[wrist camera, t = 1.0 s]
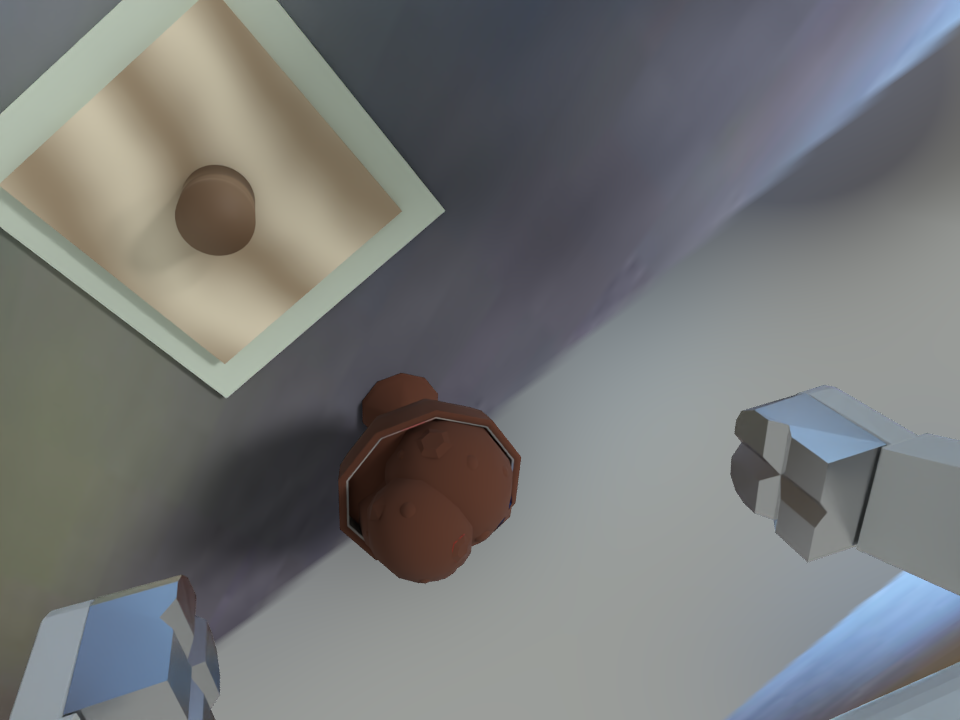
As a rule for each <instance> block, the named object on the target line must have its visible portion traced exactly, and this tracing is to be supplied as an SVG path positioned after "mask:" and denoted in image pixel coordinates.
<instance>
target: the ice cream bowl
mask: <svg viewBox="0 0 960 720" xmlns="http://www.w3.org/2000/svg"><path fill="white" fill-rule="evenodd" d="M362 407H363V423H364V424H365V425H366V426H367V427H368V428H367V429H366V431H365V432H364V433H363V434H362V436H361V437H360V438H359V440H358V441H357V442H356V443H355V445H354V446H353V447H352V448H351V450H350V451H349V452H348V453H347V455H346V457H345V458H344V460H343V462H342V463H341V465H340V471H339V479H338V484H339V515H340V530H342V531H343V532H344V533H345V534H346V535H347V536H349V537H350V538H351V539H352V540H353V541H354V542H356V543H357V544H358V545H359V546H360V547H361V548H362V549H364V550H365V551H366V552H367V553H368V554H369V555H371V556H372V557H373V558H374V559H375V560H379V561H380V562H381V563H382V564H384V566H386V567H387V568H388V569H389V570H390V571H391V572H392V573H394V574H395V575H396V576H397V577H398V578H402V579H405V580H409V581H413V582H417V583H427V582H431V581H439V580H441V579H445V578H447V577H448V576H450V575H451V574H453V573H454V572H455V571H456V569H457V568H458V567H460V566H461V565H463V564H464V562H465V561H466V559H467V558H468V556H469V554H470V553H471V546H474V545H476V544H478V543H481V542H482V541H484V540H486V539H487V538H488V537H489V536H490V535H491V534H492V533H493V532H494V531H495V530H496V529H497V528H498V527H499V526H500V525H501V524H503V523H504V522H505V521H506V520H507V519H508V518H509V517H510V513H511V507H512V506H513V505H514V504H515V501H516V493H517V486H518V478H519V470H520V462H521V457H520V455H519V454H518V453H517V451H516V450H515V449H514V447H513V446H512V445H511V444H510V442H509V441H508V440H507V438H506V437H505V436H504V435H503V433H502V432H501V431H500V430H499V428H498V427H497V426H496V424H495V423H494V422H493V421H492V420H491V419H490V418H489V417H488V416H487V415H486V414H485V413H483V412H482V411H480V410H477V409H474V408H471V407H466V406H461V405H456V404H451V403H446V402H441V401H438V393H437V392H436V391H435V390H434V389H433V387H432V386H431V385H430V384H429V383H428V381H427V380H426V379H425V378H423V377H418V376H413V375H409V374H404V373H400V374H397V375H395V376H392V377H389V378H386V379H384V380H381V381H378V382H377V383H376V384H375V385H374V387H373V388H372V389H371V391H370V392H369V393H368V394H367V396H366V397H365V398H364V400H363V401H362Z"/></svg>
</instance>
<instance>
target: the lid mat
mask: <svg viewBox="0 0 960 720" xmlns="http://www.w3.org/2000/svg"><path fill="white" fill-rule="evenodd" d="M197 1H198V0H122V1H121V2H120V3H119V4H118V5H117V6H116V7H115V8H114V9H113V10H111V11H110V12H109V13H108V14H107V15H106V16H105V17H104V18H103V19H102V20H101V21H100V22H99V23H98V24H96V25H95V26H94V27H93V28H92V29H91V30H90V31H89V32H88V33H87V34H86V35H85V36H84V37H83V38H81V39H80V40H79V41H78V42H77V43H76V44H75V45H74V46H73V47H72V48H71V49H70V50H69V51H68V52H66V53H65V54H64V55H63V56H62V57H61V58H60V59H59V60H58V61H57V62H56V63H55V64H54V65H53V66H51V67H50V68H49V69H48V70H47V71H46V72H45V73H44V74H43V75H42V76H41V77H40V78H39V79H38V80H36V81H35V82H34V83H33V84H32V85H31V86H30V87H29V88H28V89H27V90H26V91H25V92H24V93H23V94H21V95H20V96H19V97H18V98H17V99H16V100H15V101H14V102H13V103H12V104H11V105H10V106H9V107H8V108H6V109H5V110H4V111H3V112H2V113H1V114H0V183H1V182H2V181H3V180H4V179H5V178H6V177H8V176H9V175H10V174H11V173H12V172H13V171H14V170H15V169H16V168H17V167H18V166H19V165H21V164H22V163H23V162H24V161H25V160H26V159H27V158H28V157H29V156H30V155H31V154H32V153H34V152H35V151H36V150H37V149H38V148H39V147H40V146H41V145H42V144H43V143H44V142H45V141H47V140H48V139H49V138H50V137H51V136H52V135H53V134H54V133H55V132H56V131H57V130H58V129H60V128H61V127H62V126H63V125H64V124H65V123H66V122H67V121H68V120H69V119H70V118H72V117H73V116H74V115H75V114H76V113H77V112H78V111H79V110H80V109H81V108H82V107H83V106H85V105H86V104H87V103H88V102H89V101H90V100H91V99H92V98H93V97H94V96H95V95H96V94H98V93H99V92H100V91H101V90H102V89H103V88H104V87H105V86H106V85H107V84H108V83H109V82H111V81H112V80H113V79H114V78H115V77H116V76H117V75H118V74H119V73H120V72H121V71H122V70H124V69H125V68H126V67H127V66H128V65H129V64H130V63H131V62H132V61H133V60H134V59H136V58H137V57H138V56H139V55H140V54H141V53H142V52H143V51H144V50H145V49H146V48H147V47H149V46H150V45H151V44H152V43H153V42H154V41H155V40H156V39H157V38H158V37H159V36H160V35H162V34H163V33H164V32H165V31H166V30H167V29H168V28H169V27H170V26H171V25H172V24H173V23H175V22H176V21H177V20H178V19H179V18H180V17H181V16H182V15H183V14H184V13H185V12H186V11H188V10H189V9H190V8H191V7H192V6H193V5H194V4H195V3H196V2H197ZM224 2H225V3H226V4H227V5H228V6H229V7H230V9H231V10H232V11H233V12H234V13H235V15H236V16H237V17H238V18H239V19H240V20H241V22H242V23H243V24H244V25H245V26H246V28H247V29H248V30H249V31H250V32H251V33H252V35H253V36H254V37H255V38H256V39H257V40H258V42H259V43H260V44H261V45H262V46H263V48H264V49H265V50H266V51H267V52H268V53H269V55H270V56H271V57H272V58H273V59H274V61H275V62H276V63H277V64H278V65H279V66H280V68H281V69H282V70H283V71H284V72H285V73H286V75H287V76H288V77H289V78H290V79H291V81H292V82H293V83H294V84H295V85H296V86H297V88H298V89H299V90H300V91H301V92H302V93H303V95H304V96H305V97H306V98H307V99H308V101H309V102H310V103H311V104H312V105H313V106H314V108H315V109H316V110H317V111H318V112H319V114H320V115H321V116H322V117H323V118H324V119H325V121H326V122H327V123H328V124H329V125H330V126H331V128H332V129H333V130H334V131H335V132H336V134H337V135H338V136H339V137H340V138H341V139H342V141H343V142H344V143H345V144H346V145H347V147H348V148H349V149H350V150H351V151H352V152H353V154H354V155H355V156H356V157H357V158H358V159H359V161H360V162H361V163H362V164H363V165H364V167H365V168H366V169H367V170H368V171H369V172H370V174H371V175H372V176H373V177H374V178H375V180H376V181H377V182H378V183H379V184H380V185H381V187H382V188H383V189H384V190H385V191H386V192H387V194H388V195H389V196H390V197H391V198H392V200H393V201H394V202H395V203H396V204H397V205H398V207H399V208H400V209H401V210H402V212H401V213H400V214H398V215H397V216H396V217H395V218H394V219H393V220H391V221H390V222H389V223H388V224H387V225H386V226H384V227H383V228H382V229H381V230H380V231H379V232H378V233H376V234H375V235H374V236H373V237H372V238H371V239H369V240H368V241H367V242H366V243H365V244H364V245H362V246H361V247H360V248H359V249H358V250H357V251H356V252H354V253H353V254H352V255H351V256H350V257H349V258H347V259H346V260H345V261H344V262H343V263H342V264H340V265H339V266H338V267H337V268H336V269H335V270H333V271H332V272H331V273H330V274H329V275H328V276H327V277H325V278H324V279H323V280H322V281H321V282H320V283H318V284H317V285H316V286H315V287H314V288H313V289H311V290H310V291H309V292H308V293H307V294H306V295H305V296H303V297H302V298H301V299H300V300H299V301H298V302H296V303H295V304H294V305H293V306H292V307H291V308H289V309H288V310H287V311H286V312H285V313H284V314H282V315H281V316H280V317H279V318H278V319H277V320H276V321H274V322H273V323H272V324H271V325H270V326H269V327H267V328H266V329H265V330H264V331H263V332H262V333H260V334H259V335H258V336H257V337H256V338H255V339H253V340H252V341H251V342H250V343H249V344H248V345H247V346H245V347H244V348H243V349H242V350H241V351H240V352H238V353H237V354H236V355H235V356H234V357H233V358H231V359H230V360H229V361H228V362H227V363H226V364H224V363H223V362H221V361H220V360H219V359H217V358H216V357H215V356H214V355H212V354H211V353H210V352H209V351H207V350H206V349H205V348H204V347H202V346H201V345H200V344H199V343H197V342H196V341H195V340H194V339H192V338H191V337H190V336H188V335H187V334H186V333H185V332H183V331H182V330H181V329H180V328H178V327H177V326H176V325H175V324H173V323H172V322H171V321H170V320H168V319H167V318H166V317H164V316H163V315H162V314H161V313H159V312H158V311H157V310H156V309H154V308H153V307H152V306H151V305H149V304H148V303H147V302H146V301H144V300H143V299H142V298H141V297H139V296H138V295H137V294H135V293H134V292H133V291H132V290H130V289H129V288H128V287H127V286H125V285H124V284H123V283H122V282H120V281H119V280H118V279H117V278H115V277H114V276H113V275H112V274H110V273H109V272H108V271H106V270H105V269H104V268H103V267H101V266H100V265H99V264H98V263H96V262H95V261H94V260H93V259H91V258H90V257H89V256H88V255H86V254H85V253H84V252H82V251H81V250H80V249H79V248H77V247H76V246H75V245H74V244H72V243H71V242H70V241H69V240H67V239H66V238H65V237H64V236H62V235H61V234H60V233H59V232H57V231H56V230H55V229H53V228H52V227H51V226H50V225H48V224H47V223H46V222H45V221H43V220H42V219H41V218H40V217H38V216H37V215H36V214H35V213H33V212H32V211H31V210H30V209H28V208H27V207H26V206H24V205H23V204H22V203H21V202H19V201H18V200H17V199H16V198H14V197H13V196H12V195H11V194H9V193H8V192H7V191H6V190H4V189H3V188H2V187H0V227H1V228H2V229H4V230H5V231H6V232H8V233H9V234H10V235H12V236H13V237H14V238H15V239H17V240H18V241H19V242H21V243H22V244H23V245H25V246H26V247H27V248H29V249H30V250H31V251H33V252H34V253H35V254H37V255H38V256H39V257H41V258H42V259H43V260H45V261H46V262H47V263H48V264H50V265H51V266H52V267H54V268H55V269H56V270H58V271H59V272H60V273H62V274H63V275H64V276H66V277H67V278H68V279H70V280H71V281H72V282H74V283H75V284H76V285H78V286H79V287H80V288H81V289H83V290H84V291H85V292H87V293H88V294H89V295H91V296H92V297H93V298H95V299H96V300H97V301H99V302H100V303H101V304H103V305H104V306H105V307H107V308H108V309H109V310H111V311H112V312H113V313H114V314H116V315H117V316H118V317H120V318H121V319H122V320H124V321H125V322H126V323H128V324H129V325H130V326H132V327H133V328H134V329H136V330H137V331H138V332H140V333H141V334H142V335H143V336H145V337H146V338H147V339H149V340H150V341H151V342H153V343H154V344H155V345H157V346H158V347H159V348H161V349H162V350H163V351H165V352H166V353H167V354H169V355H170V356H171V357H173V358H174V359H175V360H176V361H178V362H179V363H180V364H182V365H183V366H184V367H186V368H187V369H188V370H190V371H191V372H192V373H194V374H195V375H196V376H198V377H199V378H200V379H202V380H203V381H204V382H206V383H207V384H208V385H209V386H211V387H212V388H213V389H215V390H216V391H217V392H219V393H220V394H221V395H223V396H224V397H225V398H228V397H229V396H230V395H231V394H232V393H233V392H235V391H236V390H237V389H238V388H239V387H240V386H242V385H243V384H244V383H245V382H246V381H247V380H249V379H250V378H251V377H252V376H253V375H254V374H256V373H257V372H258V371H259V370H260V369H261V368H263V367H264V366H265V365H266V364H267V363H268V362H270V361H271V360H272V359H273V358H274V357H275V356H277V355H278V354H279V353H280V352H281V351H282V350H284V349H285V348H286V347H287V346H288V345H289V344H291V343H292V342H293V341H294V340H295V339H296V338H298V337H299V336H300V335H301V334H302V333H303V332H305V331H306V330H307V329H308V328H309V327H310V326H312V325H313V324H314V323H315V322H316V321H317V320H319V319H320V318H321V317H322V316H323V315H324V314H326V313H327V312H328V311H329V310H330V309H331V308H333V307H334V306H335V305H336V304H337V303H338V302H340V301H341V300H342V299H343V298H344V297H345V296H347V295H348V294H349V293H350V292H351V291H352V290H354V289H355V288H356V287H357V286H358V285H359V284H361V283H362V282H363V281H364V280H365V279H366V278H368V277H369V276H370V275H371V274H372V273H373V272H375V271H376V270H377V269H378V268H379V267H380V266H382V265H383V264H384V263H385V262H386V261H387V260H389V259H390V258H391V257H392V256H393V255H394V254H396V253H397V252H398V251H399V250H400V249H401V248H403V247H404V246H405V245H406V244H407V243H408V242H410V241H411V240H412V239H413V238H414V237H415V236H417V235H418V234H419V233H420V232H421V231H422V230H424V229H425V228H426V227H427V226H428V225H429V224H431V223H432V222H433V221H434V220H435V219H436V218H438V217H439V216H440V215H441V214H442V213H443V212H445V210H444V209H443V207H442V206H441V205H440V204H439V202H438V201H437V200H436V199H435V197H434V196H433V195H432V194H431V192H430V191H429V190H428V189H427V187H426V186H425V185H424V184H423V182H422V181H421V180H420V179H419V177H418V176H417V175H416V174H415V172H414V171H413V170H412V169H411V167H410V166H409V165H408V164H407V162H406V161H405V160H404V159H403V157H402V156H401V155H400V154H399V152H398V151H397V150H396V149H395V147H394V146H393V145H392V144H391V142H390V141H389V140H388V139H387V137H386V136H385V135H384V134H383V132H382V131H381V130H380V129H379V127H378V126H377V125H376V124H375V122H374V121H373V120H372V119H371V117H370V116H369V115H368V114H367V112H366V111H365V110H364V109H363V107H362V106H361V105H360V104H359V102H358V101H357V100H356V99H355V97H354V96H353V95H352V94H351V92H350V91H349V90H348V89H347V87H346V86H345V85H344V84H343V82H342V81H341V80H340V79H339V77H338V76H337V75H336V74H335V72H334V71H333V70H332V69H331V67H330V66H329V65H328V64H327V62H326V61H325V60H324V59H323V57H322V56H321V55H320V54H319V52H318V51H317V50H316V49H315V47H314V46H313V45H312V44H311V42H310V41H309V40H308V39H307V37H306V36H305V35H304V34H303V32H302V31H301V30H300V29H299V27H298V26H297V25H296V24H295V22H294V21H293V20H292V19H291V17H290V16H289V15H288V14H287V12H286V11H285V10H284V9H283V7H282V6H281V5H280V4H279V2H278V1H277V0H224Z"/></svg>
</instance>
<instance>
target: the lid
mask: <svg viewBox="0 0 960 720" xmlns="http://www.w3.org/2000/svg"><path fill="white" fill-rule="evenodd" d="M0 187H2V188H3V189H4V190H6V191H7V192H8V193H9V194H11V195H12V196H13V197H14V198H16V199H17V200H18V201H19V202H21V203H22V204H23V205H24V206H26V207H27V208H28V209H30V210H31V211H32V212H33V213H35V214H36V215H37V216H38V217H40V218H41V219H42V220H43V221H45V222H46V223H47V224H48V225H50V226H51V227H52V228H53V229H55V230H56V231H57V232H59V233H60V234H61V235H62V236H64V237H65V238H66V239H67V240H69V241H70V242H71V243H72V244H74V245H75V246H76V247H77V248H79V249H80V250H81V251H82V252H84V253H85V254H86V255H88V256H89V257H90V258H91V259H93V260H94V261H95V262H96V263H98V264H99V265H100V266H101V267H103V268H104V269H105V270H106V271H108V272H109V273H110V274H112V275H113V276H114V277H115V278H117V279H118V280H119V281H120V282H122V283H123V284H124V285H125V286H127V287H128V288H129V289H130V290H132V291H133V292H134V293H135V294H137V295H138V296H139V297H141V298H142V299H143V300H144V301H146V302H147V303H148V304H149V305H151V306H152V307H153V308H154V309H156V310H157V311H158V312H159V313H161V314H162V315H163V316H164V317H166V318H167V319H168V320H170V321H171V322H172V323H173V324H175V325H176V326H177V327H178V328H180V329H181V330H182V331H183V332H185V333H186V334H187V335H188V336H190V337H191V338H192V339H194V340H195V341H196V342H197V343H199V344H200V345H201V346H202V347H204V348H205V349H206V350H207V351H209V352H210V353H211V354H212V355H214V356H215V357H216V358H217V359H219V360H220V361H221V362H223V363H224V364H226V363H227V362H228V361H229V360H230V359H231V358H233V357H234V356H235V355H236V354H237V353H238V352H240V351H241V350H242V349H243V348H244V347H245V346H247V345H248V344H249V343H250V342H251V341H252V340H253V339H255V338H256V337H257V336H258V335H259V334H260V333H262V332H263V331H264V330H265V329H266V328H267V327H269V326H270V325H271V324H272V323H273V322H274V321H276V320H277V319H278V318H279V317H280V316H281V315H282V314H284V313H285V312H286V311H287V310H288V309H289V308H291V307H292V306H293V305H294V304H295V303H296V302H298V301H299V300H300V299H301V298H302V297H303V296H305V295H306V294H307V293H308V292H309V291H310V290H311V289H313V288H314V287H315V286H316V285H317V284H318V283H320V282H321V281H322V280H323V279H324V278H325V277H327V276H328V275H329V274H330V273H331V272H332V271H333V270H335V269H336V268H337V267H338V266H339V265H340V264H342V263H343V262H344V261H345V260H346V259H347V258H349V257H350V256H351V255H352V254H353V253H354V252H356V251H357V250H358V249H359V248H360V247H361V246H362V245H364V244H365V243H366V242H367V241H368V240H369V239H371V238H372V237H373V236H374V235H375V234H376V233H378V232H379V231H380V230H381V229H382V228H383V227H384V226H386V225H387V224H388V223H389V222H390V221H391V220H393V219H394V218H395V217H396V216H397V215H398V214H400V213H401V212H402V210H401V209H400V208H399V207H398V205H397V204H396V203H395V202H394V201H393V200H392V198H391V197H390V196H389V195H388V194H387V192H386V191H385V190H384V189H383V188H382V187H381V185H380V184H379V183H378V182H377V181H376V180H375V178H374V177H373V176H372V175H371V174H370V172H369V171H368V170H367V169H366V168H365V167H364V165H363V164H362V163H361V162H360V161H359V159H358V158H357V157H356V156H355V155H354V154H353V152H352V151H351V150H350V149H349V148H348V147H347V145H346V144H345V143H344V142H343V141H342V139H341V138H340V137H339V136H338V135H337V134H336V132H335V131H334V130H333V129H332V128H331V126H330V125H329V124H328V123H327V122H326V121H325V119H324V118H323V117H322V116H321V115H320V114H319V112H318V111H317V110H316V109H315V108H314V106H313V105H312V104H311V103H310V102H309V101H308V99H307V98H306V97H305V96H304V95H303V93H302V92H301V91H300V90H299V89H298V88H297V86H296V85H295V84H294V83H293V82H292V81H291V79H290V78H289V77H288V76H287V75H286V73H285V72H284V71H283V70H282V69H281V68H280V66H279V65H278V64H277V63H276V62H275V61H274V59H273V58H272V57H271V56H270V55H269V53H268V52H267V51H266V50H265V49H264V48H263V46H262V45H261V44H260V43H259V42H258V40H257V39H256V38H255V37H254V36H253V35H252V33H251V32H250V31H249V30H248V29H247V28H246V26H245V25H244V24H243V23H242V22H241V20H240V19H239V18H238V17H237V16H236V15H235V13H234V12H233V11H232V10H231V9H230V7H229V6H228V5H227V4H226V3H225V2H224V0H198V1H197V2H196V3H195V4H194V5H193V6H192V7H191V8H190V9H189V10H188V11H186V12H185V13H184V14H183V15H182V16H181V17H180V18H179V19H178V20H177V21H176V22H175V23H173V24H172V25H171V26H170V27H169V28H168V29H167V30H166V31H165V32H164V33H163V34H162V35H160V36H159V37H158V38H157V39H156V40H155V41H154V42H153V43H152V44H151V45H150V46H149V47H147V48H146V49H145V50H144V51H143V52H142V53H141V54H140V55H139V56H138V57H137V58H136V59H134V60H133V61H132V62H131V63H130V64H129V65H128V66H127V67H126V68H125V69H124V70H122V71H121V72H120V73H119V74H118V75H117V76H116V77H115V78H114V79H113V80H112V81H111V82H109V83H108V84H107V85H106V86H105V87H104V88H103V89H102V90H101V91H100V92H99V93H98V94H96V95H95V96H94V97H93V98H92V99H91V100H90V101H89V102H88V103H87V104H86V105H85V106H83V107H82V108H81V109H80V110H79V111H78V112H77V113H76V114H75V115H74V116H73V117H72V118H70V119H69V120H68V121H67V122H66V123H65V124H64V125H63V126H62V127H61V128H60V129H58V130H57V131H56V132H55V133H54V134H53V135H52V136H51V137H50V138H49V139H48V140H47V141H45V142H44V143H43V144H42V145H41V146H40V147H39V148H38V149H37V150H36V151H35V152H34V153H32V154H31V155H30V156H29V157H28V158H27V159H26V160H25V161H24V162H23V163H22V164H21V165H19V166H18V167H17V168H16V169H15V170H14V171H13V172H12V173H11V174H10V175H9V176H8V177H6V178H5V179H4V180H3V181H2V182H1V183H0Z"/></svg>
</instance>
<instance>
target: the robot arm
mask: <svg viewBox="0 0 960 720" xmlns="http://www.w3.org/2000/svg"><path fill="white" fill-rule="evenodd" d="M735 435H736V436H737V437H738V439H739V440H740V441H741V444H740V445H739V447H738V448H737V450H736V451H735V453H734V454H733V456H732V459H731V478H732V481H733V484H734V487H735V490H736V492H737V494H738V495H739V497H740V498H741V500H742V501H743V503H744V504H745V505H746V506H747V507H748V508H750V509H751V510H752V511H753V512H754V513H755V514H758V515H761V516H763V517H766V518H769V519H772V520H773V521H774V527H775V533H776V534H778V535H779V536H780V537H781V538H782V539H783V540H784V541H785V542H786V543H787V544H788V545H789V546H790V547H791V548H793V549H794V550H795V551H796V552H797V553H798V554H799V555H800V556H801V557H802V558H804V559H805V560H806V561H807V562H811V561H813V560H817V559H820V558H823V557H826V556H829V555H832V554H835V553H837V552H841V551H844V550H847V549H850V548H853V547H856V546H857V548H856V549H857V550H859V551H861V552H863V553H866V554H868V555H870V556H872V557H874V558H877V559H879V560H881V561H883V562H886V563H888V564H890V565H892V566H895V567H897V568H899V569H901V570H904V571H906V572H908V573H910V574H912V575H915V576H917V577H919V578H921V579H924V580H926V581H928V582H930V583H933V584H935V585H937V586H939V587H942V588H944V589H946V590H948V591H951V592H953V593H955V594H957V595H959V596H960V440H955V439H951V438H947V437H942V436H938V435H933V434H929V433H925V434H922V435H919V436H918V435H917V434H915V433H913V432H912V431H910V430H908V429H906V428H905V427H903V426H901V425H900V424H898V423H896V422H894V421H893V420H891V419H889V418H887V417H886V416H884V415H883V414H881V413H879V412H877V411H876V410H874V409H872V408H871V407H869V406H867V405H866V404H864V403H862V402H860V401H859V400H857V399H855V398H853V397H852V396H850V395H848V394H847V393H845V392H843V391H842V390H840V389H838V388H836V387H832V386H827V385H822V386H819V387H816V388H813V389H810V390H807V391H803V392H800V393H797V394H796V395H793V396H789V397H786V398H783V399H779V400H776V401H773V402H770V403H766V404H763V405H760V406H756V407H753V408H749V409H746V410H743V411H741V413H740V415H739V416H738V418H737V420H736V426H735ZM195 611H196V594H195V592H194V590H193V588H192V586H191V584H190V582H189V579H188V577H186V576H183V575H179V576H175V577H171V578H168V579H164V580H160V581H157V582H153V583H149V584H145V585H142V586H138V587H134V588H131V589H127V590H123V591H120V592H116V593H112V594H108V595H105V596H101V597H97V598H96V599H94V600H89V601H85V602H82V603H78V604H74V605H71V606H67V607H63V608H60V609H56V610H52V611H50V612H49V613H48V615H47V616H46V617H45V618H44V619H43V620H42V622H41V624H40V627H39V630H38V633H37V636H36V639H35V642H34V645H33V648H32V651H31V654H30V657H29V660H28V663H27V666H26V669H25V672H24V675H23V678H22V681H21V684H20V687H19V690H18V693H17V696H16V699H15V702H14V705H13V708H12V711H11V714H10V717H9V720H215V718H214V715H213V713H212V711H211V708H212V706H213V705H214V703H215V702H216V700H217V699H218V697H219V696H220V672H219V663H218V655H217V649H216V646H215V642H214V638H213V635H212V632H211V630H210V627H209V625H208V622H207V620H205V619H202V618H200V617H198V616H196V615H195ZM830 720H960V662H958V663H956V664H954V665H952V666H949V667H947V668H945V669H943V670H940V671H938V672H936V673H934V674H931V675H929V676H927V677H925V678H922V679H920V680H918V681H916V682H913V683H911V684H909V685H907V686H904V687H902V688H900V689H898V690H895V691H893V692H891V693H889V694H886V695H884V696H882V697H880V698H877V699H875V700H873V701H871V702H868V703H866V704H864V705H862V706H859V707H857V708H855V709H853V710H850V711H848V712H846V713H844V714H841V715H839V716H837V717H835V718H832V719H830Z"/></svg>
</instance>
